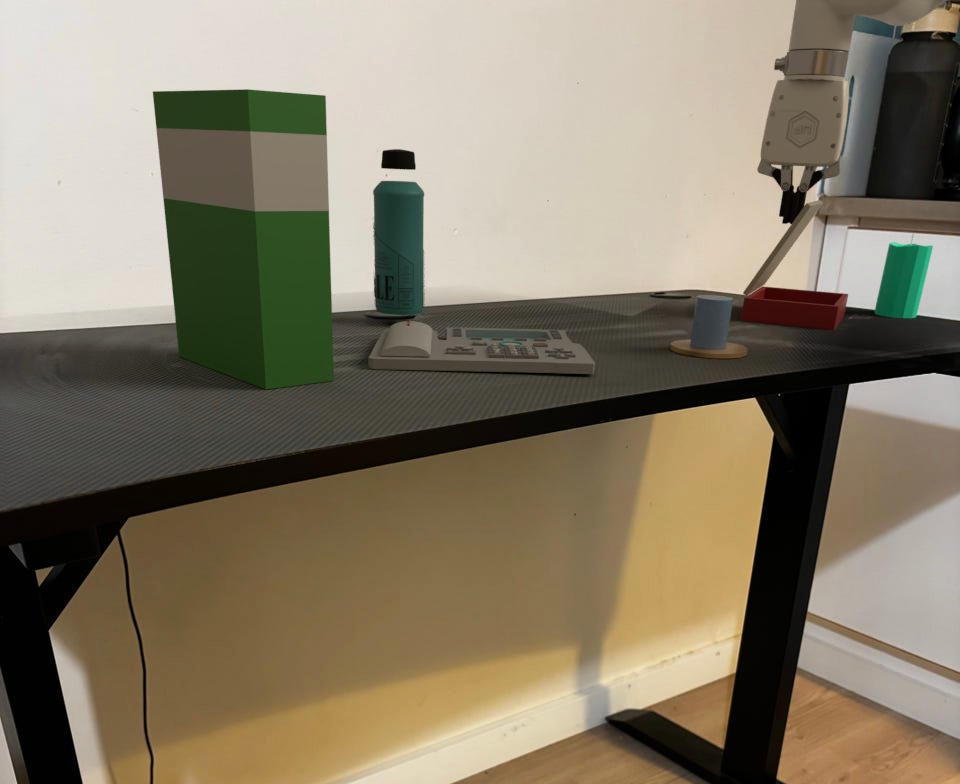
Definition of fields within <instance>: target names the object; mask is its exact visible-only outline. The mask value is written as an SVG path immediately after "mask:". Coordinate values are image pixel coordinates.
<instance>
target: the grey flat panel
mask: <svg viewBox="0 0 960 784" xmlns="http://www.w3.org/2000/svg"><path fill="white" fill-rule="evenodd" d="M823 204H824V201H822V200H821V199H818V200H814V201H810V202H807V203H806V202H805V205H804V208H803V209H802V210H801V212H800V213H799V215H798V216H797V217H796V219H795V220H794V222H793V223H792V224H790V226H789V227H788V228H787V230H786V231H785V233H784V234H783V236H782V237H781V238H780V240H779V241H778V242H777V244H776V246H775V247H774V248H773V250H772V251H771V252H770V254H769V256H768V257H767V258H766V259H765V261H764V262H763V264H762V265H761V266H760V268H759V269H758V271H757V272H756V273H755V275H754V277H753V278H752V279H751V281H750V282H749V283H748V285H747V286H746V288H745V289H744V290H743V292H742V294H743V295H744V296H745V297H747V296H748V295H750V294H751V293H753V292H754V291H756V290H758V289H759V288H761V287H762V286H763V287H764V285H766V283H767V282H768V281H769V280H770V278H771V276H772V275H773V273H775V271H776V269H777V268H778V267H779V266H780V264H781V263H782V261H783V260H784V259H785V257H786V256H787V254H788V253H789V251H790V250H791V248H792V247H793V246H794V244H795V243H796V241H797V240H798V239H799V237H800V236H801V235H802V233H803V232H804V230H805V229H806V228H807V227H808V225H809V223H810V222H811V221H812V219H814V217H815V215H816V214H817V213H818V211H819V210H820V209H821V207H822V206H823Z"/></svg>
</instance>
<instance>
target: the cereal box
mask: <svg viewBox="0 0 960 784" xmlns="http://www.w3.org/2000/svg"><path fill="white" fill-rule="evenodd" d="M152 98H153V99H152V100H153V108H154V118H155V128H156V138H157V148H158V157H159V158H158V160H159V169H160V170H159V171H160V179H161V180H160V181H161V189H162V198H163V199H162V200H163V209H164V218H165V219H164V220H165V229H166V239H167V249H168V260H169V269H170V279H171V289H172V298H173V310H174V318H175V329H176V339H177V347H178V348H177V349H178V357H179V358H182V359H185V360H187V361H190V362H192V363H195V364H198V365H200V366H203V367H205V368H208V369H211V370H212V371H213V370H214V371H216V372H219V373H222V374H224V375H227V376H228V377H229V376H230V377H232V378H235V379H237V380H240V381H242V382H244V383H247V384H250V385H252V386H256V387H259V388H261V389H264V390H272V389H280V388H287V387H296V386H303V385H311V384H318V383H326V382H334V381H335V376H334V375H335V374H334V373H335V371H334V340H333V339H334V337H333V305H332V301H333V300H332V271H331V237H330V236H331V235H330V234H331V233H330V231H331V230H330V199H329V196H330V195H329V167H328V132H327V128H328V127H327V95H325V94H324V95H323V94H311V93H298V92H288V91H287V92H286V91H275V90H274V91H273V90H260V89H250V88H249V89H247V88H246V89H207V90H206V89H202V90H160V91H155V90H154V91H153V90H152Z"/></svg>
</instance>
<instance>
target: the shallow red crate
mask: <svg viewBox="0 0 960 784" xmlns="http://www.w3.org/2000/svg"><path fill="white" fill-rule="evenodd" d="M848 298H849V294H848V293H844V292H843V293H842V292H832V291H831V292H830V291H819V290H809V289H796V288H787V287H785V288H783V287H772V286H764V285H763V286H761V287H760V288H758V289H757V290H755V291H754V292H752V293H750V294H749V295H747V296H745V297H744V298H743V304H742V310H741V316H740V322H747V323H756V324H757V323H758V324H759V323H760V324H766V325H775V326H786V327H796V328H806V329H816V330H827V331H835V330H836V328H837V327H838V325H839V324H840V322H841V321H842V320H843V318H844V315H845V313H846V307H847V303H848Z"/></svg>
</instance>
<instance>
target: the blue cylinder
mask: <svg viewBox="0 0 960 784" xmlns="http://www.w3.org/2000/svg"><path fill="white" fill-rule="evenodd" d="M733 303H734V298H733V297H729V296H726V295H725V296H724V295H715V294H699V295H696V298H695V305H694V306H695V307H694V313H693V319H692V327H691V329H692V330H691V333H690V334H691V335H690V339H691V341H690V345H691V346H693V347H697V348H702V349H724V348H726V343H727V342H728V337H729V329H730V323H731V316H732V310H733Z"/></svg>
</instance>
